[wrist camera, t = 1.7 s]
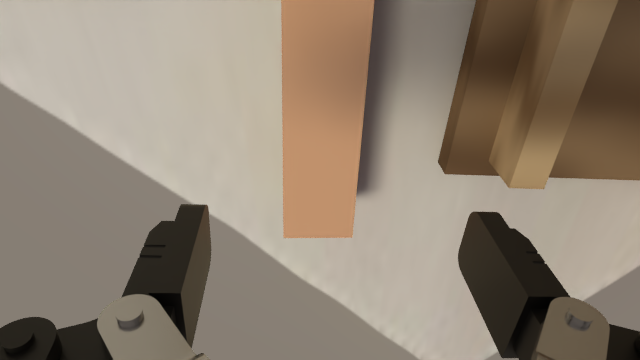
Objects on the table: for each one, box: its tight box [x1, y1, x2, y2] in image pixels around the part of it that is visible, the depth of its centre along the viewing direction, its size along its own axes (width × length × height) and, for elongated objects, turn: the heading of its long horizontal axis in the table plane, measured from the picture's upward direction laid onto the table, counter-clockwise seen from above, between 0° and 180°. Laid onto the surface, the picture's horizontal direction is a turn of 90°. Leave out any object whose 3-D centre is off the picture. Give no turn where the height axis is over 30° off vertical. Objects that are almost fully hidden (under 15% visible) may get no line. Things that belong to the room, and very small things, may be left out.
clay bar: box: [281, 0, 374, 238], centre depth 24 cm, size 16×4×4 cm, turn 178°
